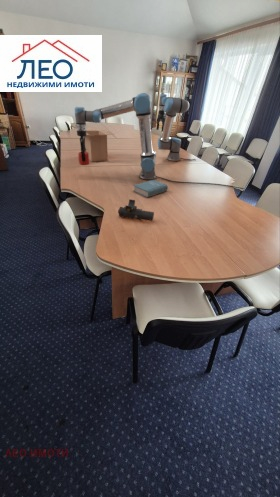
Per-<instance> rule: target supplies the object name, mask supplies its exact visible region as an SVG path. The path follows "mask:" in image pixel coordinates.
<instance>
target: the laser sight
mask: <svg viewBox="0 0 280 497" xmlns="http://www.w3.org/2000/svg"><path fill="white" fill-rule="evenodd" d="M135 204H136V200H135V199H128V204H127V205H125V206H124V207H123V206H119V209H118V210H117V213H118V216H119V217H122V218H124V219H125V218H126V219H131V220H132V219H133V220H137V221H141V220H142V221H143V220H145V221H151V222H153V221H154V217H155V211H150V210H143V208H138V206H137V205H135Z"/></svg>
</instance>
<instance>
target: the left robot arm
mask: <svg viewBox="0 0 280 497" xmlns="http://www.w3.org/2000/svg"><path fill="white" fill-rule="evenodd" d="M131 112H135V117H136V118H137V119H138V127H139V138H140V147H141V153H140V154H139V155H140V168H141V169H140V172H139V178H140V179H142V180H146V181H150V180H156V178H158V179H161V180H165V181H168V182H172V183H181V184H195V182H192V181H176V180H170V179H167V178H164V177H160V176H157V174H156V169H155V167H156V157H157V152H156V151H154V150H153V143H152V141H153V140H152V129H151V128H152V127H151V118H150V117H151V116H152V99H151V96H150V95H149V94H147V93H146V92H142V93H139V94H137V95H136V96H134V97H132V98H131V99H129V100H125V101H122V102H118V103H115V104H111V105H108V106H104V107H101V108H96V109H94V110H87V109H85V107H84V106H75V107H74V118H75V127H76V130H77V131H76V135H77V136H78V137H79V144H80V153H81V154H82V161H86V160H85V152H86V148H85V137H84V136H87V132H86V129H87V123H95V124H100V123H101V122H102V120H106V119H109V118H112V117H115V116H116V117H117V116H119V115H124V114H127V113H131ZM196 184H197V185H199V184H201V185H217V186H223V187H229V188H234V189H235V188H236V189H240V190H244V187H240V186H235V185H229V184H221V183H213V182H212V183H211V182H196Z"/></svg>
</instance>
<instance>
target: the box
mask: <svg viewBox="0 0 280 497" xmlns="http://www.w3.org/2000/svg"><path fill="white" fill-rule="evenodd" d="M74 132H77V129H74ZM86 132H87V136H84V137H85V148H86V152H88V153H89V162H102V161H105V162H106V161H108V136H111V135H112V136H113V135H115V133H114V132H113V131H112V132H111V131H109V130H108V129H100V130H98V129H97V128H86Z"/></svg>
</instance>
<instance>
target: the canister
mask: <svg viewBox="0 0 280 497" xmlns="http://www.w3.org/2000/svg"><path fill="white" fill-rule="evenodd" d="M80 152H81V151H80ZM80 152H78V153H77V154H78V162H79V165H81V166H88V165H90V163H91V162H90V160H89V153H88V152H85V160H86V161H82V154H81V153H80Z"/></svg>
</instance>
